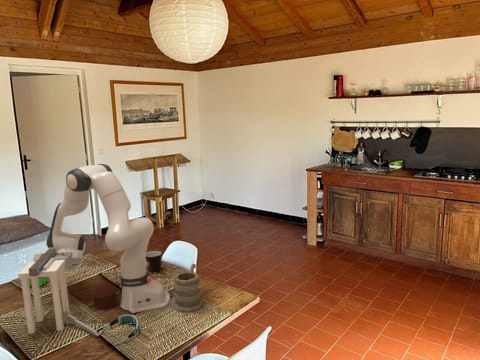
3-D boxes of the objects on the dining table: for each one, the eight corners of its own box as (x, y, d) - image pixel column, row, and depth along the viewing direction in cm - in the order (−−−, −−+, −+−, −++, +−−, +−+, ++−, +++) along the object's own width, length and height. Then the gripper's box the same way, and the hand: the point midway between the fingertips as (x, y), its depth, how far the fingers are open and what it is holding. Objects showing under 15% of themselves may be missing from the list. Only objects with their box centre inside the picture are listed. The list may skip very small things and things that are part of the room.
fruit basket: (50, 281, 201) (48, 261, 199) (40, 289, 192) (37, 268, 190) (30, 281, 202) (28, 261, 200) (19, 288, 193) (16, 268, 191)
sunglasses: (147, 331, 152) (144, 321, 151) (114, 354, 142) (111, 343, 140) (127, 319, 161) (125, 309, 160) (95, 340, 151) (92, 329, 149)
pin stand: (71, 315, 166) (64, 256, 161) (63, 330, 154) (55, 267, 149) (37, 318, 164) (29, 258, 159) (26, 334, 152) (17, 270, 147)
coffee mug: (145, 268, 213) (144, 252, 211) (161, 266, 216) (160, 250, 214) (147, 277, 202) (146, 259, 200) (163, 274, 205) (162, 257, 203)
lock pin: (58, 253, 168) (57, 246, 168) (37, 276, 145) (36, 268, 144) (50, 254, 168) (50, 247, 167) (29, 276, 145) (28, 269, 144)
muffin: (123, 300, 178) (121, 280, 176) (109, 312, 167) (107, 291, 166) (101, 297, 181) (99, 278, 179) (86, 309, 170) (84, 288, 169)
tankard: (197, 313, 165) (195, 280, 162) (169, 310, 167) (167, 279, 165) (209, 291, 184) (208, 262, 181) (185, 290, 186) (183, 261, 184)
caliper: (63, 324, 159) (62, 310, 158) (66, 323, 160) (64, 309, 159) (97, 336, 150) (96, 322, 148) (99, 335, 150) (98, 321, 149)
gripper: (40, 253, 178) (28, 248, 165) (85, 250, 181) (76, 245, 168) (39, 267, 176) (26, 263, 163) (85, 263, 179) (76, 259, 166)
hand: (52, 254), depth 166 cm, fingers open, 8 cm apart
